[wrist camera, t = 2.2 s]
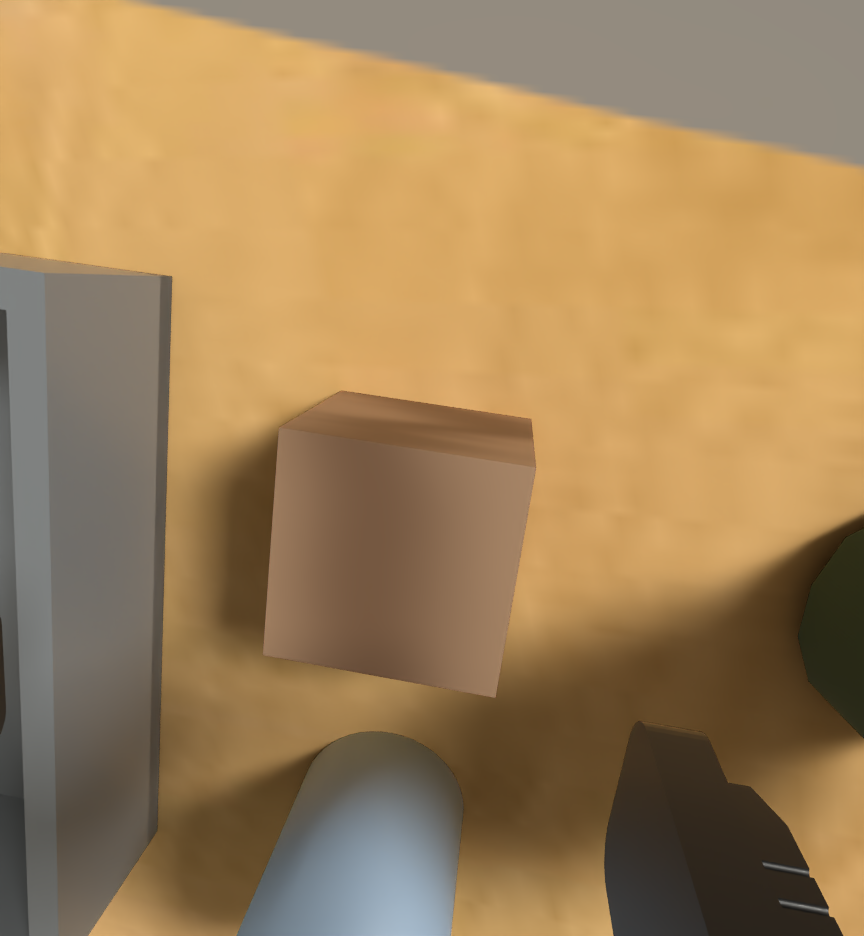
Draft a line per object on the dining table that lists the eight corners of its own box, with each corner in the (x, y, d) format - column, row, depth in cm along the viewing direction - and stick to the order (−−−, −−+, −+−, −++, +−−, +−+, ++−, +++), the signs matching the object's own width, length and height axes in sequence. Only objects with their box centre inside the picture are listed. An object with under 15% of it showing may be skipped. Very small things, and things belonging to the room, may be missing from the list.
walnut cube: (530, 418, 18) (535, 467, 13) (500, 594, 19) (495, 697, 14) (342, 390, 18) (278, 427, 13) (325, 564, 19) (263, 655, 15)
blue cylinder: (474, 748, 20) (453, 977, 14) (451, 883, 22) (422, 1151, 15) (310, 717, 21) (211, 924, 14) (297, 851, 22) (201, 1099, 15)
